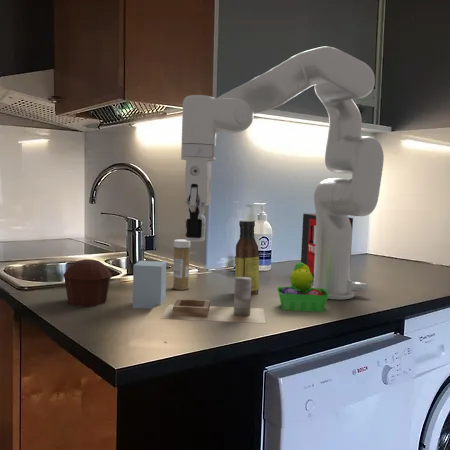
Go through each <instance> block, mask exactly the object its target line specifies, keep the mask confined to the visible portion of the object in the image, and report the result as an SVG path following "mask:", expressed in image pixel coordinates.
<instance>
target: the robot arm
mask: <svg viewBox="0 0 450 450" xmlns="http://www.w3.org/2000/svg"><path fill="white" fill-rule="evenodd" d="M375 83H376V77H375V73H374V71H373V69H372V68H371V67H370V66H369V64H367V63H366V62H364V61H362V60H360V59H358V58H357V57H354V56H353V55H351V54H349V53H347V52H344V51H343V50H342V49H341V50H340V49H338V48H336V47H332V46H327V45H326V46H320V47H316V48H312V49H308V50H305V51H301V52H299V53H297V54H295V55H293V56H291V57H289V58H288V59H287V60H284V61H283V62H281V63H280V64H278V65H275V66H274V67H272V68H270V69H269V70H268V71H266V72H264V73H262V74H260V75H258V76H255V77H254V78H252V79H250V80H248V81H246V82H245V83H243V84H240V85H238V86H237V87H235V88H232V89H230V90H229V91H227V92H225V93H222V94H221V95H220V96H217V98H216V97H214V96H213V97H212V96H209V95H206V94H205V95H204V94H203V95H202V94H191V95H187V96H185V97H184V99H183V101H182V117H181V118H182V121H181V148H180V150H181V151H180V152H181V153H180V160H183V161H185V173H184V174H185V175H184V202H185V204H186V205H187V208H188V209H187V215H188V219H187V237H188V238H201V235H202V220H201V207H202V206H204V207H207V206H209V205H210V204H211V202H212V200H211V198H212V195H211V194H212V187H211V186H212V167H211V166H212V162H216V154H217V153H216V151H217V150H216V148H217V146H216V145H217V136H218V135H223V134H236V133H241V132H244V131H246V130H247V129H249V127H250V126H251V125H252V123H253V121H254V115H255V114H259V113H263V112H266V111H270V110H273V109H276V108H278V107H280V106H282V105H284V104H286V103H287V102H289V101H290V100H291V99H293V98H295V97H297V96H298V95H300V94H301V93H303V92H304V91H306V90H308V89H309V88H311V87H313V86H314V92H315V95H316V96H317V97H318V99H319V100H320V102H321V103H322V104H323V107H324V108H325V109H326V113H327V114H328V122H329V123H328V133H327V138H326V139H327V140H326V147H325V154H324V163H325V167H326V168H327V169H328V171H330V172H332V173H335V174H336V173H337V174H348V175H350V174H351V175H352V176H351V178H345V177H344V178H341V177H333V178H332V177H331V178H327V179H324V180H322V181H320V182H319V183H318V184H317V185H316V187H315V190H314V193H313V202H314V208H315V214H316V243H315V262H314V279H313V281H312V284H313V285H312V286H311V287H312V288H322V289H325V290H326V292H327V293H328V294H329V296H328V299H327V300H339V301H340V300H341V301H342V300H350V299H353V298H355V291H356V290H358V291H359V290H360V291H367V290H368V284H367V282H359V281H353V280H352V279H351V277H350V274H351V273H350V272H351V262H350V260H351V261H352V245H351V243H353V242H352V240H353V228H352V227H351V223H350V221H349V218H348V217H349V216H352V217H366V216H369V215H370V214H372V213H373V212H374V211H375V208H376V207H377V205H378V201H379V196H380V191H381V190H380V189H381V183H382V175H383V170H384V169H383V168H384V156H385V155H384V150H383V147H382V145H381V143H380V141H379V140H378V139H377V138H375V137H372V136H369V135H367V136H364V135H363V136H362V134H361V133H362V125H363V121H362V120H363V119H362V115H361V112H360V109H359V108H358V106H357V104H356V103H355V102H354V100H358V99H363V98H365V97H367V96H368V95H370V94H371V93H372V92H373V90H374V87H375ZM203 216H205V212H204V213H203ZM349 277H350V278H349Z"/></svg>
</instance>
